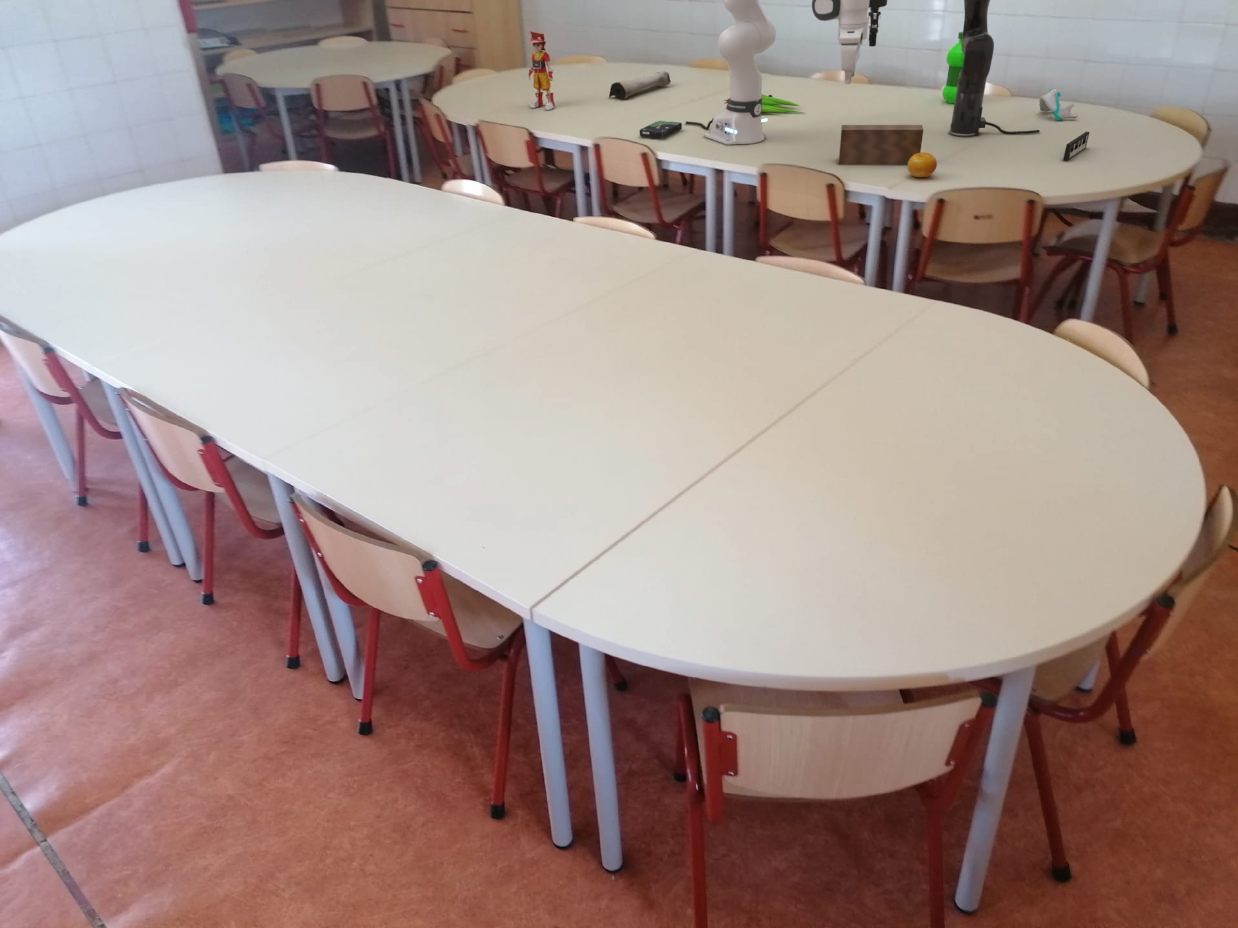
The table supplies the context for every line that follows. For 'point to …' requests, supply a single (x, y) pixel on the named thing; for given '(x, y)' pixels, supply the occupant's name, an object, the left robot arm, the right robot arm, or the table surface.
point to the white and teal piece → (1055, 105)
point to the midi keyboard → (1076, 145)
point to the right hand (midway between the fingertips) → (872, 44)
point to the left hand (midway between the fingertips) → (849, 80)
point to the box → (879, 144)
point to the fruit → (922, 164)
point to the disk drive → (660, 129)
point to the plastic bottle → (953, 70)
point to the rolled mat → (638, 84)
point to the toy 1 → (541, 71)
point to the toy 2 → (769, 104)
